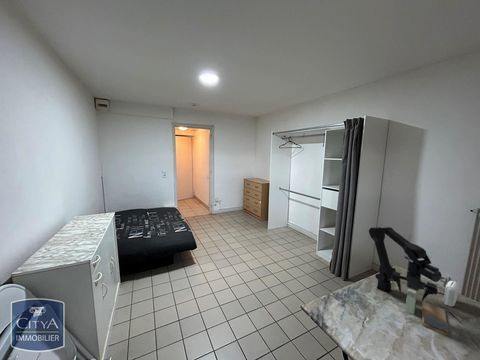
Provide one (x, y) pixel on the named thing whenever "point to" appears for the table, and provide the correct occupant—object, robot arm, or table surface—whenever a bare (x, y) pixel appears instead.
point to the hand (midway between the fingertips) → (411, 295)
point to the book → (410, 301)
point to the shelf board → (433, 316)
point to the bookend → (435, 323)
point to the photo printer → (451, 293)
